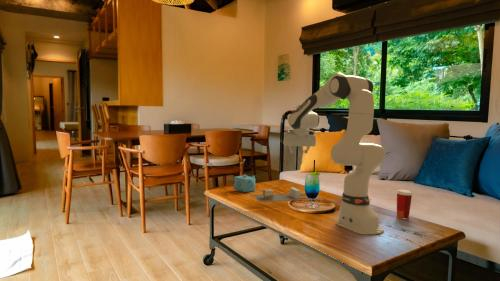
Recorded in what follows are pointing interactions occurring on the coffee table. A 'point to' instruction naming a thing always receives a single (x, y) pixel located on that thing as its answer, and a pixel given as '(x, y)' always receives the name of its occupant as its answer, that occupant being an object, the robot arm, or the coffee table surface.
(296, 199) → the lane rails
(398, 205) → the glass of red beer
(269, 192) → the cube
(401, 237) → the coffee table surface
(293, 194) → the strip
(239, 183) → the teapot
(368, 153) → the robot arm
